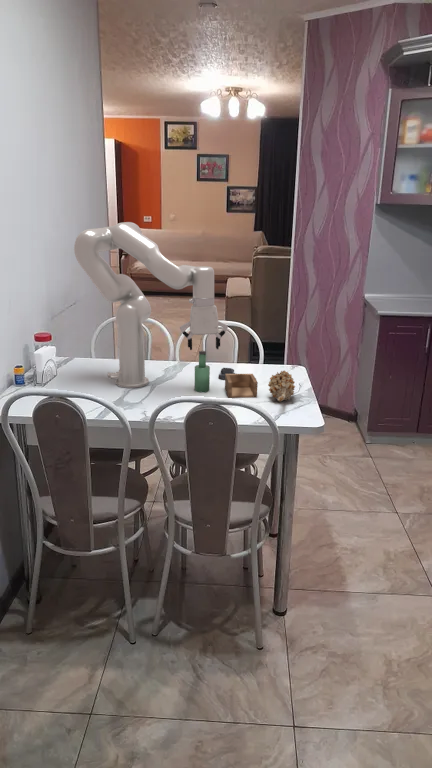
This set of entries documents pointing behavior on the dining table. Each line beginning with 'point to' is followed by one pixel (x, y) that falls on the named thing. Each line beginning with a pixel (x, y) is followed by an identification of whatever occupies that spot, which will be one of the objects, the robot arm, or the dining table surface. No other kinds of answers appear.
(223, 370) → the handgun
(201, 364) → the bottle
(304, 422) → the dining table surface
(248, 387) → the wooden square tray
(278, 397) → the pine cone
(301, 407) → the dining table surface
